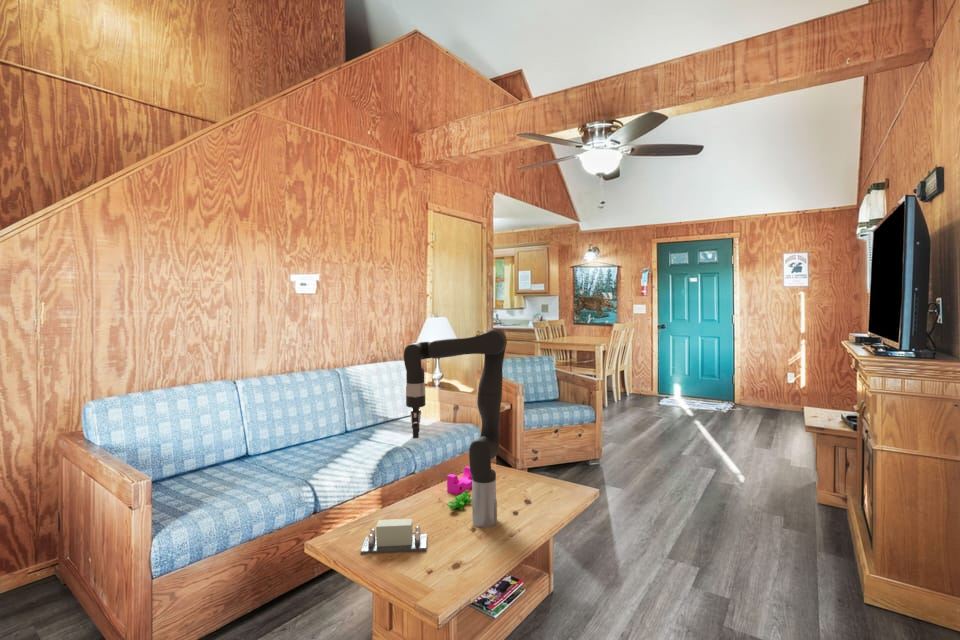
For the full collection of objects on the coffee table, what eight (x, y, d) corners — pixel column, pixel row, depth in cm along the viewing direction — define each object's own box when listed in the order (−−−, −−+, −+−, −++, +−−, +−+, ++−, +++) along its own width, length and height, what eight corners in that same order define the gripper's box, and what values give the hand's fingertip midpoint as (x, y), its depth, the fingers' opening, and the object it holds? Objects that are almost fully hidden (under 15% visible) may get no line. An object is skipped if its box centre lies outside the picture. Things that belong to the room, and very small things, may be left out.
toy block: (458, 495, 212) (457, 478, 212) (447, 491, 216) (446, 475, 216) (478, 484, 224) (477, 468, 224) (467, 481, 228) (467, 466, 228)
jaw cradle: (426, 537, 174) (426, 522, 174) (426, 551, 164) (425, 536, 164) (365, 540, 172) (364, 526, 172) (360, 554, 162) (360, 539, 162)
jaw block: (378, 539, 170) (378, 520, 170) (412, 537, 171) (412, 518, 171) (376, 546, 165) (376, 526, 165) (411, 545, 166) (411, 525, 166)
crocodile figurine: (442, 512, 195) (442, 502, 195) (462, 495, 211) (462, 486, 211) (457, 515, 192) (457, 504, 192) (476, 498, 208) (476, 488, 208)
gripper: (407, 390, 195) (407, 430, 195) (404, 397, 180) (405, 440, 181) (425, 390, 195) (426, 429, 196) (424, 397, 181) (425, 439, 182)
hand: (416, 434), depth 188 cm, fingers open, 8 cm apart
